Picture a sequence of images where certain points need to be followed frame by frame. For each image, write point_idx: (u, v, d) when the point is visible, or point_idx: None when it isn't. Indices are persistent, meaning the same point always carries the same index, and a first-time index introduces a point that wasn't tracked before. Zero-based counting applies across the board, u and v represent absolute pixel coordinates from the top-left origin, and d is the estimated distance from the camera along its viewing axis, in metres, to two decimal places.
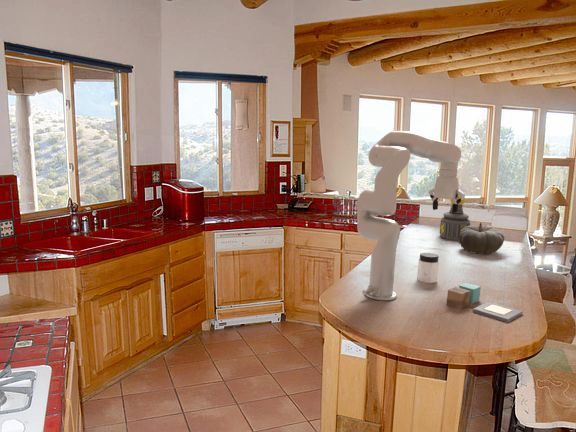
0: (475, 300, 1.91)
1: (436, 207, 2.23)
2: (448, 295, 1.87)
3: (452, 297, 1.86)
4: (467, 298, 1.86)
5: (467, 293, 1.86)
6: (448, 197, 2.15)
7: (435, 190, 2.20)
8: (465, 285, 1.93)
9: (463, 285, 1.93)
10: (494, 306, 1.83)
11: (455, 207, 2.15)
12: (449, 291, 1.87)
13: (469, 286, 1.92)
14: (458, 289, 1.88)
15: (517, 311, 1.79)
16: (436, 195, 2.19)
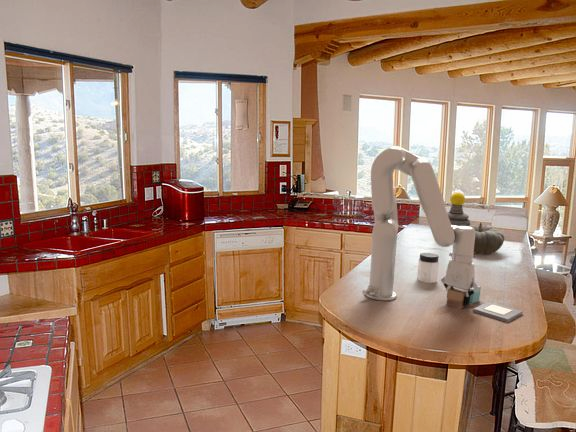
0: (475, 300, 1.91)
1: None
2: (448, 295, 1.87)
3: (453, 297, 1.86)
4: None
5: None
6: (462, 287, 1.83)
7: (447, 277, 1.87)
8: None
9: None
10: (494, 306, 1.83)
11: (467, 300, 1.84)
12: (449, 291, 1.87)
13: None
14: (458, 289, 1.88)
15: (517, 311, 1.79)
16: (448, 283, 1.87)
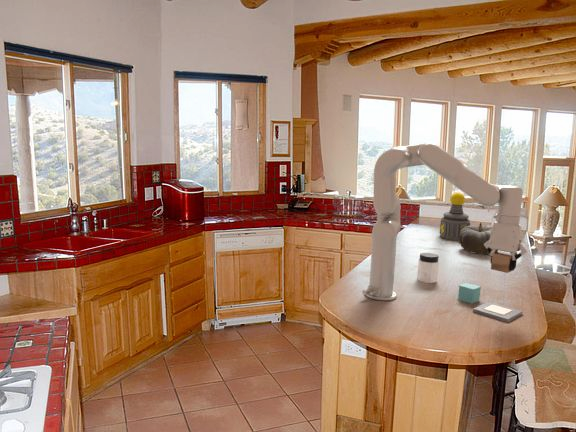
0: (475, 300, 1.91)
1: None
2: (493, 259, 1.77)
3: (498, 261, 1.76)
4: None
5: None
6: (509, 250, 1.72)
7: (491, 240, 1.77)
8: (465, 285, 1.93)
9: (463, 285, 1.93)
10: (494, 306, 1.83)
11: (513, 264, 1.74)
12: (494, 255, 1.76)
13: (469, 286, 1.92)
14: (503, 253, 1.78)
15: (517, 311, 1.79)
16: (492, 246, 1.77)
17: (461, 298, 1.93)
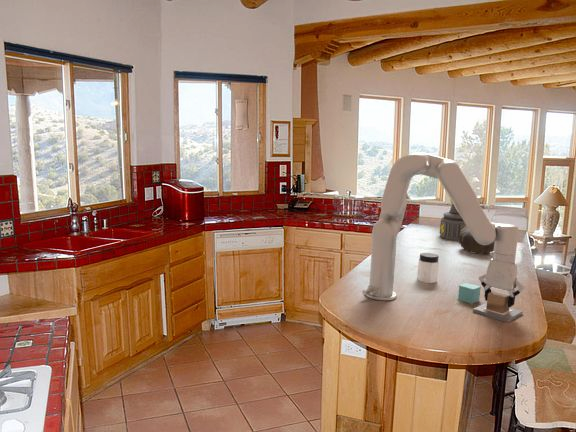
0: (475, 300, 1.91)
1: None
2: (488, 299, 1.79)
3: (493, 301, 1.78)
4: None
5: (508, 297, 1.78)
6: (505, 288, 1.75)
7: (487, 277, 1.79)
8: (465, 285, 1.93)
9: (463, 285, 1.93)
10: None
11: (511, 300, 1.75)
12: (489, 295, 1.79)
13: (469, 286, 1.92)
14: (499, 292, 1.81)
15: (517, 311, 1.79)
16: (489, 283, 1.79)
17: (461, 298, 1.93)
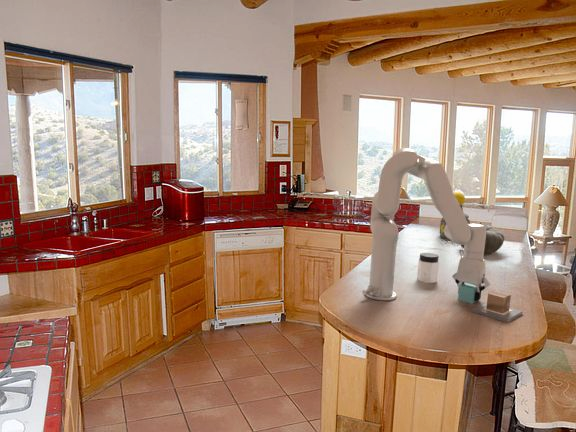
0: None
1: None
2: (488, 299, 1.79)
3: (493, 301, 1.78)
4: (508, 302, 1.79)
5: (508, 297, 1.78)
6: (474, 283, 1.89)
7: (458, 273, 1.93)
8: (465, 285, 1.93)
9: (463, 285, 1.93)
10: None
11: (478, 295, 1.90)
12: (489, 295, 1.79)
13: (469, 286, 1.92)
14: (499, 292, 1.81)
15: (517, 311, 1.79)
16: (459, 278, 1.93)
17: (461, 298, 1.93)
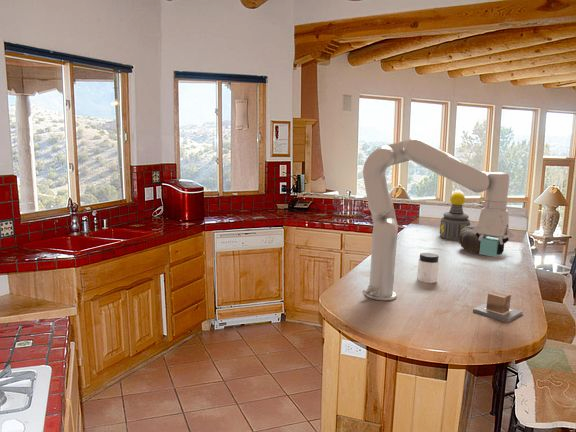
0: None
1: None
2: (488, 299, 1.79)
3: (493, 301, 1.78)
4: (508, 302, 1.79)
5: (508, 297, 1.78)
6: (497, 234, 1.78)
7: (479, 225, 1.82)
8: (487, 238, 1.83)
9: (485, 238, 1.82)
10: None
11: (501, 248, 1.79)
12: (489, 295, 1.79)
13: (491, 239, 1.81)
14: (499, 292, 1.81)
15: (517, 311, 1.79)
16: (481, 231, 1.82)
17: (483, 252, 1.82)
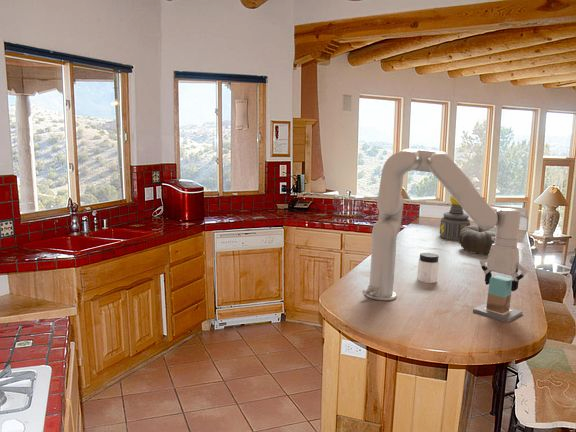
0: (507, 294, 1.77)
1: (489, 281, 1.82)
2: (488, 299, 1.79)
3: (493, 301, 1.78)
4: (508, 302, 1.79)
5: (508, 297, 1.78)
6: (506, 272, 1.74)
7: (489, 262, 1.78)
8: (496, 277, 1.79)
9: (494, 277, 1.79)
10: None
11: (515, 284, 1.74)
12: (489, 295, 1.79)
13: (500, 278, 1.78)
14: None
15: (517, 311, 1.79)
16: (490, 268, 1.78)
17: (492, 292, 1.78)
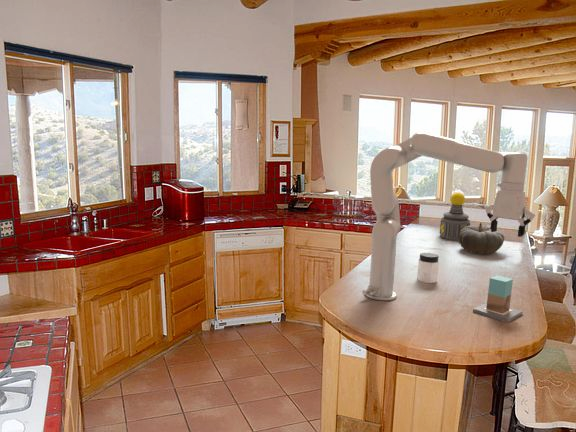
0: (507, 294, 1.77)
1: (495, 229, 1.79)
2: (488, 299, 1.79)
3: (493, 301, 1.78)
4: (508, 302, 1.79)
5: (508, 297, 1.78)
6: (513, 217, 1.70)
7: (495, 208, 1.75)
8: (496, 277, 1.79)
9: (494, 277, 1.79)
10: None
11: (522, 230, 1.70)
12: (489, 295, 1.79)
13: (500, 278, 1.78)
14: None
15: (517, 311, 1.79)
16: (496, 214, 1.75)
17: (492, 292, 1.78)
